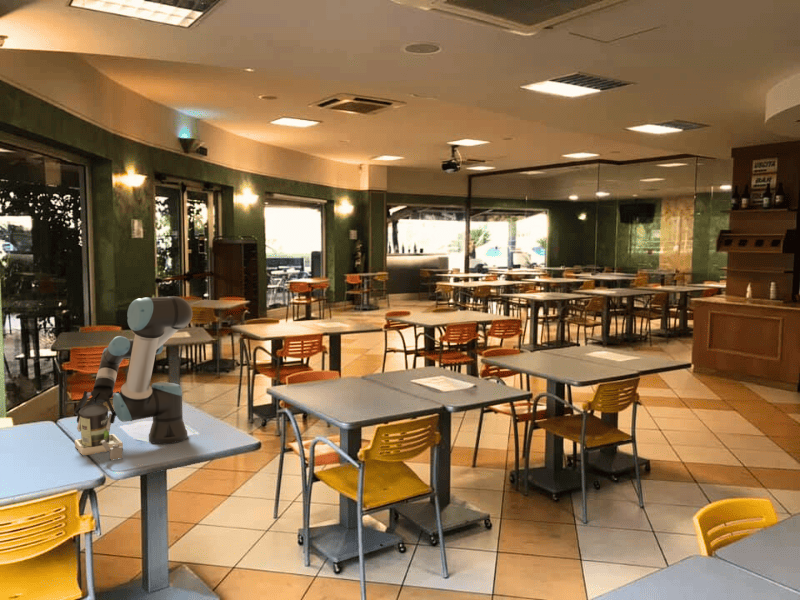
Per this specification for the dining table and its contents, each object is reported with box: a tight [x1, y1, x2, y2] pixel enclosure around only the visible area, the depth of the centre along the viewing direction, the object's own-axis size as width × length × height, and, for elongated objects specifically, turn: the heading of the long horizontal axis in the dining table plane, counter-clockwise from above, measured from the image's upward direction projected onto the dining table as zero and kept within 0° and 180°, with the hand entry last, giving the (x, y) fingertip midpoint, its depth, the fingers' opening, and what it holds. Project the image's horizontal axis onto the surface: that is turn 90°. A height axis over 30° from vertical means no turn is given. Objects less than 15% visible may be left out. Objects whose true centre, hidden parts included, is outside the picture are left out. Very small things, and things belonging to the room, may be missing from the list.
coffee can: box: [79, 404, 110, 448], centre depth 264 cm, size 10×10×14 cm
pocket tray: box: [74, 433, 124, 456], centre depth 264 cm, size 15×15×3 cm
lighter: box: [101, 440, 123, 461], centre depth 250 cm, size 7×2×8 cm, turn 129°
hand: (93, 430), depth 262 cm, fingers closed on coffee can, 10 cm apart
